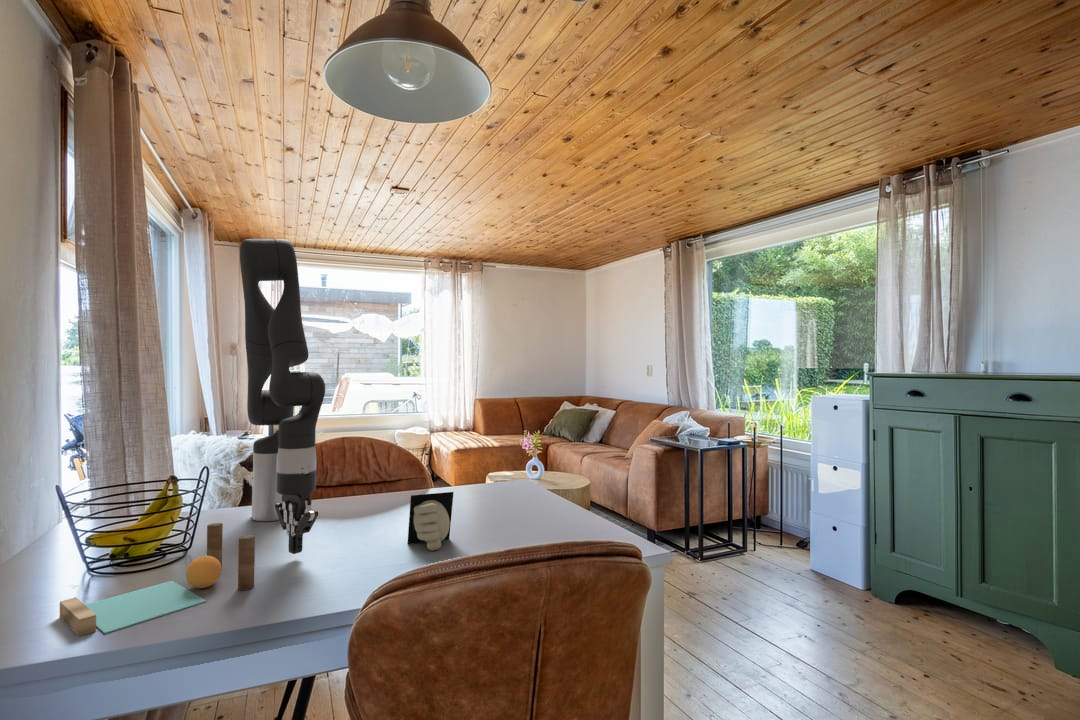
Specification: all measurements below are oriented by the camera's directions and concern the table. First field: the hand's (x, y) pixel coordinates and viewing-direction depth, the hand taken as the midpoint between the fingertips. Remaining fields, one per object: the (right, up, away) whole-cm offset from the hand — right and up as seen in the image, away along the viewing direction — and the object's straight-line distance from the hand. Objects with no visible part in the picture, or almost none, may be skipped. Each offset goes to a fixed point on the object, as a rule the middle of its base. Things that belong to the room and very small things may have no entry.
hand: (295, 552), depth 114 cm
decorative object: (+26, -2, +9) cm, 28 cm away
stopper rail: (-21, -1, -29) cm, 36 cm away
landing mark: (-16, -1, -22) cm, 27 cm away
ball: (-10, +1, -14) cm, 18 cm away
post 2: (-3, -1, -14) cm, 15 cm away
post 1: (-13, -1, -7) cm, 15 cm away
